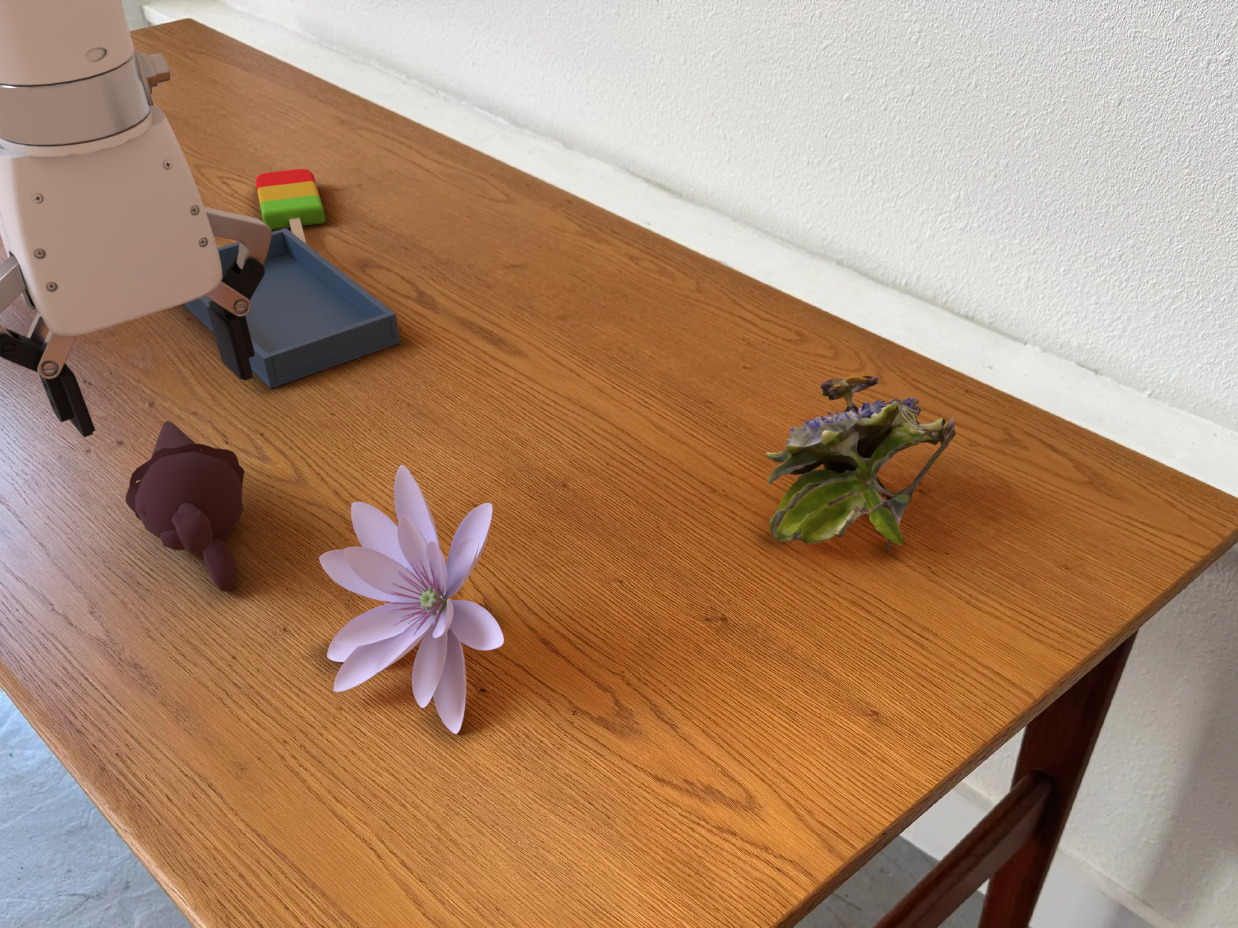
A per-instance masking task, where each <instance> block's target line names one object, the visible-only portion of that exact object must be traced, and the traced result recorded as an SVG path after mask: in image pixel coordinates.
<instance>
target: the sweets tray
mask: <svg viewBox="0 0 1238 928" xmlns="http://www.w3.org/2000/svg"><path fill="white" fill-rule="evenodd" d="M238 248H239V241H236V242H234V243H230V244H227V245H224V246H220V247H217V249H218V252H219V256H220V261H221V266H222V278H223V277H224V276H225V274H226V272H227V270H228V269H229V267H230V265H231V263H232V262H233V260H234V258H235V257H236V255H237V254H238V253H239V249H238ZM263 266H264V268H265V274H264V277H263V278H262V280H261V282H260V283H259V285H258V287H257V289H256V290H255V292H254V294H253V296H252V297H251V299H250V303H251V309H250V311H249V313H248V314H247V315H245V316H246V320H247V324H248V328H249V332H250V336H251V340H252V344H253V348H254V352H255V355H254V356H253V357H250V358H249V361H250V365H251V369H252V373H254V374H255V375H256V376H257V378H259V379H260V380H261V381H262V382H263V383H264V384H265V385H266V386H267V387H268V388H269V389H275V388H277V387H280V386H283V385H286V384H289V383H291V382H294V381H297V380H299V379H303V378H305V377H309V376H311V375H314V374H317V373H319V372H322V371H325V370H328V369H332V368H333V367H336V366H339V365H343V364H345V363H347V362H351V361H354V360H356V359H359V358H362V357H364V356H368V355H370V354H373V353H377V352H380V351H382V350H385V349H387V348H390V347H393V346H396V345H398V344H400V343H401V339H400V333H399V332H400V331H399V327H398V326H399V325H398V319H397V313H395V311H393V310H391V308H390V307H388V306H387V305H385V304H384V303H383V302H382V301H381V300H379V299H378V298H376V296H374V295H373V294H371V293H370V292H368V291H367V290H366V289H365V288H363V287H362V286H361V285H359V284H358V283H357V282H356V281H355V280H353V279H352V278H351V277H350V276H348V275H347V274H346V273H344V272H343V271H341V269H339V268H338V267H337V266H335V265H334V264H333V263H332V262H331V261H329V260H328V259H326V257H324V256H322V255H321V254H320V253H319V252H317V250H315V249H313V248H312V247H311V246H310V245H309V244H307V242H306V243H305V242H303V241H302V240H301V239H299V238H298V237H297V236H296V235H294V234H293V233H292V231H291V230H289V228H284V229H277V230H273V231H272V237H271V241H270V246H269V250H268V254H267V258H266V260H265V261H264V265H263ZM210 301H212V300H211V299H209V298H208V297H206V296H203V297H201V298H199V299H196V300H193V301H190V302H187V303H184V304H182V305H183V306H184V307H185V309H187V310H188V311H189V312H191V313H192V314H193V316H194V317H196V319H198V320H199V321H200V322H201V323H202V324H203V325H204V326H205V327H206V328H207V329H208V330H209V331H210V332H211V333H212V334H213V335H214V332H213V328H212V324H211V321H210V317H209V313H208V309H207V308H208V307H209V303H208V302H210Z"/></svg>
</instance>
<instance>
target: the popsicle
mask: <svg viewBox="0 0 1238 928" xmlns="http://www.w3.org/2000/svg"><path fill="white" fill-rule="evenodd" d="M255 188H256V193H257V197H258V203H259V207H260V213H261V216H262V217H261V218H262V222H264V223H265V224H266V225H267V226H269V227H270V228H271V230H272V231H277V230H281V229H284V228H287V229H290V232H292V233H293V234H294V235H296V236H297V237H298V238H299V239H301V240H302V241H303V242H305V243H306V244H307V241H306V238H305V233H304V229H303V227H307V226H308V227H309V226H316V225H322V224H325V223H326V214H325V210H324V206H323V203H322V199H321V197H320V192H319V189H318V186H317V183H316V178H315V176H314V174H313V172H312V171H311V170H309V169H306V168H296V169H295V168H294V169H287V170H278V171H269V172H264V173H261V174H259V175H257V177H256V178H255Z"/></svg>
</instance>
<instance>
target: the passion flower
mask: <svg viewBox="0 0 1238 928" xmlns="http://www.w3.org/2000/svg"><path fill="white" fill-rule="evenodd" d="M879 383H880V376H878V375H873V376H871V375H862V376H861V375H850V376H848V377H846V376H845V377H843V378H840V379H835V378H834V379H828V380H825V381H823V382H822V383H821V384H820V389H821V392H820V395H821V396H822V397H827V399H828V400H830V401H834V400H839V399H843V398H844V400H845V402H846V408H845V409H844V410H843V411H842V412H839V411H837V410H836V411H835V413H831V411H827V414H828V416H820V415H819V414H817V415H816V416H815V417H813V418H812V419H800V421H801V422H804V423H803V426H792V427H791V429H790V431H789V433H788V435H789V437H787V440H786V444H784V449H785V450H782V451H779V452H770V451H767V452H765V456H766V457H767V458H768V459H769V460H771V461H773V462H774V463H778V465H777V466H776V467H775V468H774V469H773V470H772V472H771V473H770V474H769V476H768V480H767V483H768V485H772V484H773V482H775V481H776V480H778V479H779V478H781V477H783V476H788V475H791V476H798V477H797V479H796V481H795V482H793V483H792V485H790V487H788V489H787V490H786V491H785V492H784V494H783V496H782V498H781V500H780V501H779V503H778V505H777V507H776V508H775V513H773V515H772V517H771V518H770V520H769V522H768V525H769V531H770V533H771V534H770V535H771V536H772V537H773V538H774V540H775V541H776V542H779V543H787V542H794V541H801V542H802V543H804V544H806V545H815V544H819V543H822V542H826V541H828V540H831V539H833V538H835V537H837V538H843V537H844V536H845V535H846V532H847V529H848V527H850V526H851V525H853V523H855V522H856V520H857V519H858V518H860V517H861V516H863V515H868V519H869V522H870V523H871V525H873V528H874V530H875V531H877V533H879V534H880V535H882V537H884V538H885V539H886V540H888V541H887V544H886V548H885V552H889V551H890V550H891V546H892V543H893V544H895V545H897V546H900V547H901V546H903V545H904V542H905V540H904V538H903V534H902V531H901V528H900V524H901V520H902V517H903V515H904V511H905V510H906V509H907V507H908V506H909V504H910V502H911V501H912V498H913V494H914V492H915V490H916V488H917V486H918V485H919V484H920V482H921V481H922V480H923V479H924V477H925V476H926V474H927V472H928V471H929V470H930V468H931V467H932V466H933V464H934V463H935V462H936V460H937V459H938V458H939V457H940V456H941V454H942V453H943V452H944V451H945V450H946V449H947V448H948V447H949V445H950V444H951V441H952V440H953V439H954V437H956V435H957V433H956V430H955V427H956V424H955V422H954V419H955V416H954V415H953V416H952V417H951V419H950V420H949V421H948V422H947V421H946V419H945V417H941V418H938V419H937V420H935V421H933V422H928V423H927V422H926V423H923V422H920V421H919V420H917V419H918V418H919V415H920V413H921V412H922V408H920V407H919V406H917V405H919V403H920V400H919V399H918V398H916V397H914V398H913V397H912V398H911V397H908V398H906V399H904V400H902V401H901V400H900V399H899V398H894V399H892V400H891V401H889V402H888V403H886V402H885V400H879V399H876V400H875V402H874V403H872V404H871V403H870V401H866V402H865V401H864V402H862V405H861V407H858V406H857V405H856V404H855V402H854V399H853V398H854V394H855V393H860V392H863V391H865V390H867V389H869V388H872V387H874V386H876V385H877V384H879ZM945 424H946V426H945ZM944 426H945V427H944ZM922 443H924V444H925V443H926V444H931V445H934V446H937V445H938V444H939V443H940V446H939V448H938V449H937V450H936V451H935V452H934V453H932V456H931V457H930V458H929V459H928V461H927V462H926V464H925V465H924V467H923V468H922V469H921V470H920V471H919V473H918V474H917V475H916V477H915V478H914V480H913V481H912V482H911V483H910V484H909V485H907V486H906V487H905V488H903V489H901V490H899V491H891V490H890V489H888V488H887V487H886V486H885V485H884V484H883V482H882V481H881V480H880V479H879V477H878V474H879V472H880V470H881V468H883V466H885V465H886V464H887V463H888V462H889V461H890V460H891V459H892V458H893V457H895V455H896V454H898V453H899V452H901V451H904V450H907V449H909V448H911V447H915V446H919V445H920V444H922ZM779 463H780V464H779ZM821 466H822V469H821V468H819V467H821ZM881 495H882V496H881ZM884 497H885V498H886V499H885V498H884Z"/></svg>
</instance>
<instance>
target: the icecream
mask: <svg viewBox="0 0 1238 928" xmlns="http://www.w3.org/2000/svg"><path fill="white" fill-rule="evenodd" d="M244 478H245V469H244V468H243V467H242V466H241V465H240V463H239V459H238V456H237V455H236V453H235V451H233V450H230V449H226V448H217V447H213V446H210V445H208V444H207V445H206V444H202V443H196V442H195V441H194V440H193V439H192V438H190V436H188V435H187V434H186V433H185V432H184V431H183V430H181V429H180V428H179V427H178V426H177V425H175V424H174V423H173V422H172V421H170V420H166V421H164V422H163V424H162V426H161V429H160V432H159V434H158V437H157V440H156V443H155V446H154V448H153V451H152V454H151V457H150V459H149V460H147V461H146V462H144V463H143V464H141V465H140V466H138V467H136V469H135V470H134V471H133V472H132V473H131V475H130V479H129V485H128V486H129V487H128V488H127V492H126V494H125V503H126V505H127V506H128V507H129V508H130V509H131V510H132V512H133V513H134V515H135V517H136V518H137V519H138V520H140V521H141V523H142V525H143V526H144V529H145V530H146V531H148V533H150V534H152V536H155V537H156V538H158V539H159V540H160V541H161V544H162V546H163V547H164V548H168V549H170V550H173V551H183V550H187V551H188V552H189V553H191V554H194V555H197V554H199V553H202V557H203V561H204V564H205V567H206V570H207V572H208V574H209V575H210V577H211V579H212V581H213V584H214V585H215V587H217V589H219V590H220V591H221V592H223V593H227V592H229V591H231V590H233V588H234V587H235V585H236V584H237V582H238V569H237V563H236V559H235V557H234V556H233V554H232V551H231V550H230V547H228V545H227V544H226V543H225V542H224V541H225V540H227V539H228V538H229V536H230V535H231V533H232V532H233V530H234V529H235V527H236V525H238V522H239V521H240V520H241V517H242V515H243V512H244V503H243V485H244Z"/></svg>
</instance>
